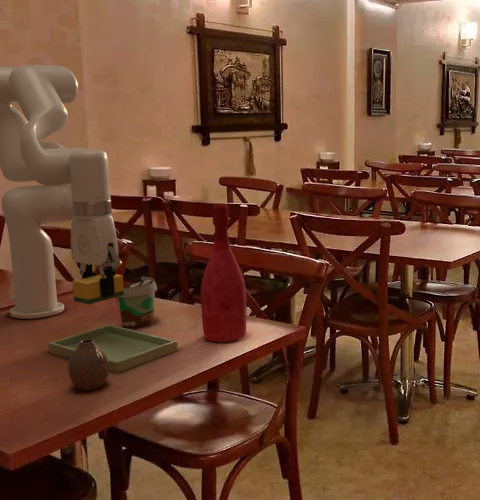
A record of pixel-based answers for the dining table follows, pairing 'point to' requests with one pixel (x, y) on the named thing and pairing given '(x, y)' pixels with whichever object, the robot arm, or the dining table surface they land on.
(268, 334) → the dining table surface
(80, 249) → the robot arm
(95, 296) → the sponge
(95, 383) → the vase
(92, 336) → the tray
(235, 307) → the wine bottle
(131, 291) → the food container
